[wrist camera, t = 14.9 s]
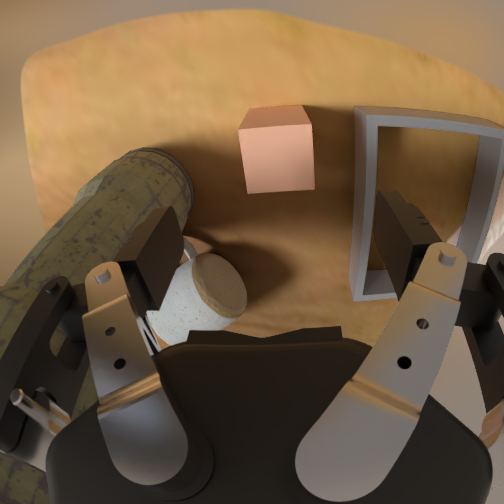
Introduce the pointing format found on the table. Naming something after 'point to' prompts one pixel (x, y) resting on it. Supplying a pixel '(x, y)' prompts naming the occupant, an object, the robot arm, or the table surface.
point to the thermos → (86, 267)
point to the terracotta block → (277, 149)
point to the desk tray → (366, 138)
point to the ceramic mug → (199, 297)
